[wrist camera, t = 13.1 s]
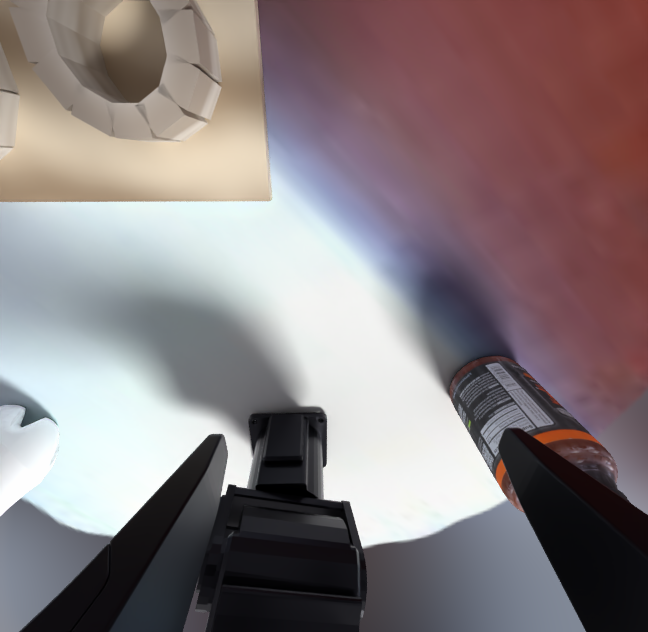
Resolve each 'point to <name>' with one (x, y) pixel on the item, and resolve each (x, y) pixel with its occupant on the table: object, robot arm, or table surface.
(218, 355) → the table surface
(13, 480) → the water bottle
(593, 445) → the supplement bottle
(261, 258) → the table surface
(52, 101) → the two-ring peg board
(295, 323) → the table surface
